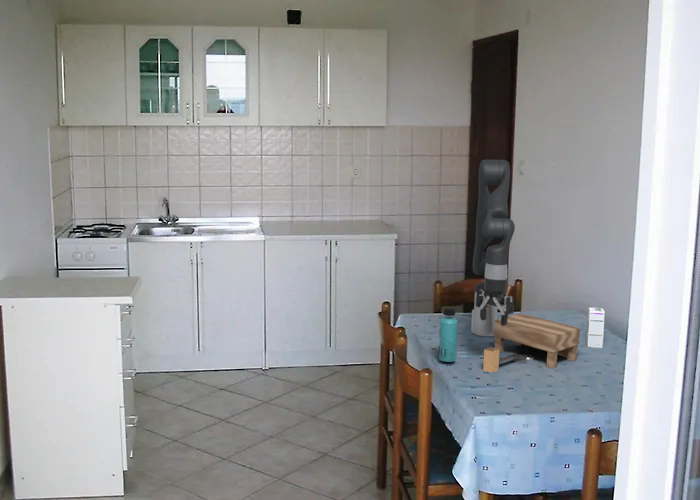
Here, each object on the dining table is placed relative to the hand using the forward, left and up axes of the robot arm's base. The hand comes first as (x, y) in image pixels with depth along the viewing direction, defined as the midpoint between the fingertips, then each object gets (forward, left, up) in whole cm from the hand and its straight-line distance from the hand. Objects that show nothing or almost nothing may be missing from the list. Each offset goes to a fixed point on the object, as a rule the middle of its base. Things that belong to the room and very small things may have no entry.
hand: (493, 322), depth 267 cm
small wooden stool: (+4, +26, -17) cm, 31 cm away
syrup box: (+16, +53, -17) cm, 58 cm away
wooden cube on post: (+1, +7, -17) cm, 18 cm away
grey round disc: (+4, +21, -17) cm, 28 cm away
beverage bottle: (-16, -3, -17) cm, 23 cm away
